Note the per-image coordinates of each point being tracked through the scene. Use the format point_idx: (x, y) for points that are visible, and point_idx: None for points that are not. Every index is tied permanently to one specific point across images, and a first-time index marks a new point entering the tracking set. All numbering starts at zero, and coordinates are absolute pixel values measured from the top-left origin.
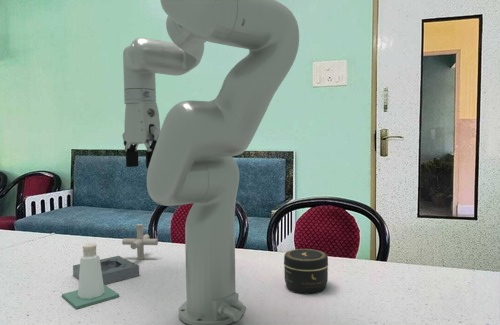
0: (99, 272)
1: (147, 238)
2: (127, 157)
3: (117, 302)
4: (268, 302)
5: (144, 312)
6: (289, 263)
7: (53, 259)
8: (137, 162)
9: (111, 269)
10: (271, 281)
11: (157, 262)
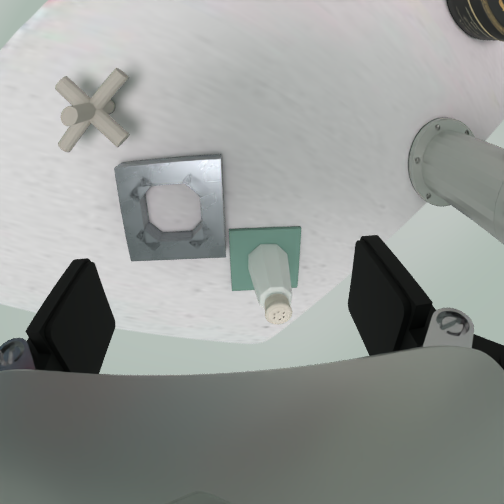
0: (285, 271)
1: (76, 85)
2: (99, 368)
3: (317, 236)
4: (471, 86)
5: (377, 222)
6: (497, 36)
7: (27, 252)
8: (87, 280)
9: (206, 214)
10: (427, 11)
11: (159, 83)
